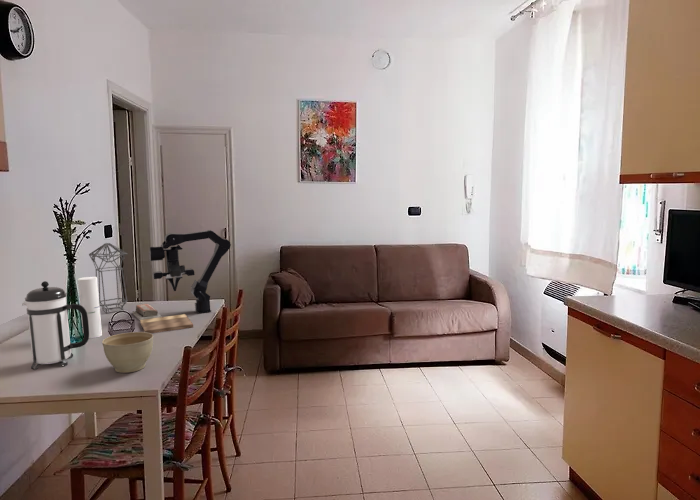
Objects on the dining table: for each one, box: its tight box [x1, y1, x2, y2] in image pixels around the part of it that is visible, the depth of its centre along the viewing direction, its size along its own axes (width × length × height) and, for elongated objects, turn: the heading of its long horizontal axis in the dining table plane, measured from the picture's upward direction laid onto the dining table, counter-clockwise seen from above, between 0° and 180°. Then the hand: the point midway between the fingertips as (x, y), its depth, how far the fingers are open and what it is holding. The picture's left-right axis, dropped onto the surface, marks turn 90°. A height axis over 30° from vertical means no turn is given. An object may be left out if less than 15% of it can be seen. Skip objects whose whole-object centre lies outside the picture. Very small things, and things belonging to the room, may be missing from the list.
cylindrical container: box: [77, 276, 103, 339], centre depth 216 cm, size 7×7×25 cm
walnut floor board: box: [141, 316, 194, 334], centre depth 229 cm, size 20×14×2 cm
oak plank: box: [139, 313, 188, 326], centre depth 239 cm, size 20×7×2 cm, turn 117°
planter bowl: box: [101, 331, 154, 374], centre depth 176 cm, size 16×16×11 cm
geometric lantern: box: [88, 242, 128, 314], centre depth 261 cm, size 16×16×35 cm
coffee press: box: [21, 281, 90, 371], centre depth 183 cm, size 17×16×30 cm
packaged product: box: [132, 303, 162, 321], centre depth 251 cm, size 18×5×10 cm
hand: (174, 291), depth 249 cm, fingers closed
